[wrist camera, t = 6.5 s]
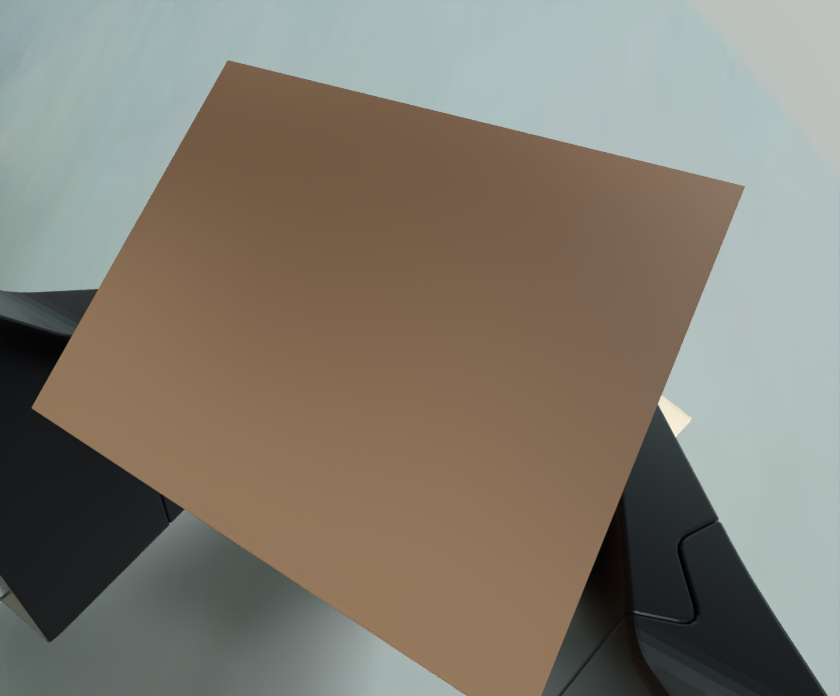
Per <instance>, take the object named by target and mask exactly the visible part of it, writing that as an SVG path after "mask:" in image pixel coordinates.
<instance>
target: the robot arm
mask: <svg viewBox="0 0 840 696" xmlns="http://www.w3.org/2000/svg"><path fill="white" fill-rule="evenodd" d="M97 291H98V289H89V290H70V291H51V292H7V291H1V290H0V601H3V602H4V603H5V604H6V605H7V606H8V607H9V608H10V609H12V610H13V611H14V612H15V613H16V614H17V615H18V616H19V617H21V618H22V619H23V620H24V621H25V622H26V623H27V624H28V625H30V626H31V627H32V628H33V629H34V630H35V631H36V632H37V633H39V634H40V635H41V636H42V637H43V638H44V639H45V640H46V641H48V642H51V641H52V640H53V639H55V638H56V637H57V636H58V635H59V634H60V633H61V632H62V631H64V630H65V629H66V628H67V627H68V626H69V625H70V624H71V623H72V622H73V621H74V620H75V619H76V618H77V617H78V616H79V615H80V614H81V613H82V612H83V611H84V610H85V609H86V608H87V607H88V606H89V605H90V604H91V603H92V602H93V601H94V600H95V599H96V598H97V597H98V596H99V595H100V594H101V593H102V592H103V591H104V590H105V589H106V588H107V587H108V586H109V585H110V584H111V583H112V582H113V581H114V580H115V579H116V578H117V577H118V576H119V575H120V574H121V573H122V572H123V571H124V570H125V569H126V568H127V567H128V566H129V565H130V564H131V563H132V562H133V561H134V560H135V559H136V558H137V557H138V556H139V555H140V554H141V553H142V552H143V551H144V550H145V549H146V548H147V547H148V546H149V545H150V544H151V543H152V542H153V541H154V540H155V539H156V538H157V537H158V536H159V535H160V534H161V533H162V532H163V531H164V530H165V529H166V528H167V527H168V526H169V523H171V522H172V521H173V520H174V519H175V518H176V517H177V516H178V515H179V514H180V513H181V512H182V511H183V510H184V509H183V508H182V507H180V506H179V505H177V504H176V503H174V502H173V501H171V500H170V499H168V498H167V497H165V496H164V495H162V494H161V493H159V492H158V491H156V490H155V489H153V488H152V487H150V486H149V485H147V484H146V483H144V482H143V481H141V480H140V479H138V478H137V477H135V476H133V475H132V474H130V473H129V472H127V471H126V470H124V469H123V468H121V467H120V466H118V465H117V464H115V463H114V462H112V461H111V460H109V459H108V458H106V457H105V456H103V455H102V454H100V453H99V452H97V451H96V450H94V449H93V448H91V447H90V446H88V445H87V444H85V443H84V442H82V441H81V440H79V439H77V438H76V437H74V436H73V435H71V434H70V433H68V432H67V431H65V430H64V429H62V428H61V427H59V426H58V425H56V424H55V423H53V422H52V421H50V420H49V419H47V418H46V417H44V416H43V415H41V414H40V413H38V412H37V411H35V410H34V409H32V406H33V404H34V402H35V401H36V399H37V397H38V395H39V393H40V392H41V390H42V388H43V386H44V385H45V383H46V381H47V379H48V378H49V376H50V374H51V372H52V370H53V369H54V367H55V365H56V363H57V362H58V360H59V358H60V356H61V355H62V353H63V351H64V349H65V348H66V346H67V344H68V342H69V340H70V339H71V337H72V335H73V333H74V332H75V330H76V328H77V326H78V325H79V323H80V321H81V319H82V317H83V316H84V314H85V312H86V310H87V309H88V307H89V305H90V303H91V302H92V300H93V298H94V296H95V294H96V293H97ZM718 520H719V518H718V516H717V514H716V512H715V511H714V509H713V507H712V505H711V503H710V501H709V499H708V497H707V495H706V494H705V492H704V490H703V488H702V486H701V484H700V482H699V480H698V478H697V477H696V475H695V473H694V471H693V469H692V467H691V465H690V463H689V462H688V460H687V458H686V456H685V454H684V452H683V450H682V448H681V446H680V445H679V443H678V441H677V439H676V437H675V435H674V433H673V431H672V429H671V428H670V426H669V424H668V422H667V420H666V418H665V416H664V414H663V412H662V411H661V409H660V407H659V405H657V407H656V410H655V412H654V415H653V417H652V420H651V422H650V425H649V427H648V430H647V432H646V435H645V437H644V440H643V442H642V445H641V447H640V450H639V452H638V455H637V457H636V460H635V462H634V465H633V467H632V470H631V472H630V475H629V477H628V480H627V482H626V485H625V487H624V490H623V492H622V495H621V497H620V500H619V502H618V505H617V507H616V510H615V512H614V515H613V517H612V520H611V522H610V525H609V527H608V530H607V532H606V535H605V537H604V540H603V542H602V545H601V547H600V550H599V552H598V555H597V557H596V560H595V562H594V565H593V567H592V570H591V572H590V575H589V577H588V580H587V582H586V585H585V587H584V590H583V592H582V595H581V597H580V600H579V602H578V605H577V607H576V610H575V612H574V615H573V617H572V620H571V622H570V625H569V627H568V630H567V632H566V635H565V637H564V640H563V642H562V645H561V647H560V650H559V652H558V655H557V657H556V660H555V662H554V665H553V667H552V670H551V672H550V675H549V677H548V680H547V682H546V685H545V687H544V690H543V692H542V695H541V696H828V695H827V694H826V692H825V691H824V689H823V688H822V686H821V685H820V683H819V682H818V680H817V679H816V677H815V676H814V674H813V673H812V671H811V670H810V668H809V666H808V665H807V663H806V662H805V660H804V659H803V657H802V656H801V654H800V653H799V651H798V650H797V648H796V647H795V645H794V644H793V642H792V641H791V639H790V638H789V636H788V634H787V633H786V631H785V630H784V628H783V627H782V625H781V624H780V622H779V621H778V619H777V618H776V616H775V614H774V613H773V611H772V610H771V608H770V606H769V605H768V603H767V602H766V600H765V598H764V597H763V595H762V594H761V592H760V591H759V589H758V587H757V586H756V584H755V583H754V581H753V579H752V578H751V576H750V574H749V572H748V571H747V569H746V567H745V565H744V564H743V562H742V560H741V558H740V556H739V555H738V553H737V551H736V549H735V548H734V546H733V544H732V542H731V540H730V538H729V537H728V535H727V533H726V531H725V529H724V527H723V525H722V524H721V523H720V522H718Z"/></svg>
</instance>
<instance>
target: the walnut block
mask: <svg viewBox="0 0 840 696" xmlns="http://www.w3.org/2000/svg"><path fill="white" fill-rule="evenodd" d="M744 187H745V186H741V185H737V184H733V183H729V182H725V181H721V180H717V179H712V178H708V177H704V176H700V175H696V174H692V173H688V172H684V171H680V170H676V169H671V168H667V167H663V166H659V165H655V164H651V163H647V162H643V161H639V160H635V159H630V158H626V157H622V156H618V155H614V154H610V153H606V152H602V151H598V150H593V149H589V148H585V147H581V146H577V145H573V144H569V143H565V142H561V141H557V140H552V139H548V138H544V137H540V136H536V135H532V134H528V133H524V132H520V131H516V130H511V129H507V128H503V127H499V126H495V125H491V124H487V123H483V122H479V121H475V120H470V119H466V118H462V117H458V116H454V115H450V114H446V113H442V112H438V111H434V110H429V109H425V108H421V107H417V106H413V105H409V104H405V103H401V102H397V101H393V100H388V99H384V98H380V97H376V96H372V95H368V94H364V93H360V92H356V91H351V90H347V89H343V88H339V87H335V86H331V85H327V84H323V83H319V82H315V81H310V80H306V79H302V78H298V77H294V76H290V75H286V74H282V73H278V72H274V71H269V70H265V69H261V68H257V67H253V66H249V65H245V64H241V63H237V62H233V61H227V63H226V65H225V66H224V68H223V70H222V72H221V73H220V75H219V77H218V79H217V81H216V82H215V84H214V86H213V88H212V89H211V91H210V93H209V95H208V96H207V98H206V100H205V102H204V104H203V105H202V107H201V109H200V111H199V112H198V114H197V116H196V118H195V119H194V121H193V123H192V125H191V127H190V128H189V130H188V132H187V134H186V135H185V137H184V139H183V141H182V142H181V144H180V146H179V148H178V149H177V151H176V153H175V155H174V157H173V158H172V160H171V162H170V164H169V165H168V167H167V169H166V171H165V172H164V174H163V176H162V178H161V180H160V181H159V183H158V185H157V187H156V188H155V190H154V192H153V194H152V195H151V197H150V199H149V201H148V203H147V204H146V206H145V208H144V210H143V211H142V213H141V215H140V217H139V218H138V220H137V222H136V224H135V226H134V227H133V229H132V231H131V233H130V234H129V236H128V238H127V240H126V241H125V243H124V245H123V247H122V248H121V250H120V252H119V254H118V256H117V257H116V259H115V261H114V263H113V264H112V266H111V268H110V270H109V271H108V273H107V275H106V277H105V279H104V280H103V282H102V284H101V286H100V287H99V289H98V291H97V293H96V294H95V296H94V298H93V300H92V302H91V303H90V305H89V307H88V309H87V310H86V312H85V314H84V316H83V317H82V319H81V321H80V323H79V325H78V326H77V328H76V330H75V332H74V333H73V335H72V337H71V339H70V340H69V342H68V344H67V346H66V348H65V349H64V351H63V353H62V355H61V356H60V358H59V360H58V362H57V363H56V365H55V367H54V369H53V370H52V372H51V374H50V376H49V378H48V379H47V381H46V383H45V385H44V386H43V388H42V390H41V392H40V393H39V395H38V397H37V399H36V401H35V402H34V404H33V406H32V409H34V410H35V411H37V412H38V413H40V414H41V415H43V416H44V417H46V418H47V419H49V420H50V421H52V422H53V423H55V424H56V425H58V426H59V427H61V428H62V429H64V430H65V431H67V432H68V433H70V434H71V435H73V436H74V437H76V438H77V439H79V440H81V441H82V442H84V443H85V444H87V445H88V446H90V447H91V448H93V449H94V450H96V451H97V452H99V453H100V454H102V455H103V456H105V457H106V458H108V459H109V460H111V461H112V462H114V463H115V464H117V465H118V466H120V467H121V468H123V469H124V470H126V471H127V472H129V473H130V474H132V475H133V476H135V477H137V478H138V479H140V480H141V481H143V482H144V483H146V484H147V485H149V486H150V487H152V488H153V489H155V490H156V491H158V492H159V493H161V494H162V495H164V496H165V497H167V498H168V499H170V500H171V501H173V502H174V503H176V504H177V505H179V506H180V507H182V508H183V509H185V510H186V511H188V512H189V513H191V514H192V515H194V516H196V517H197V518H199V519H200V520H202V521H203V522H205V523H206V524H208V525H209V526H211V527H212V528H214V529H215V530H217V531H218V532H220V533H221V534H223V535H224V536H226V537H227V538H229V539H230V540H232V541H233V542H235V543H236V544H238V545H239V546H241V547H242V548H244V549H245V550H247V551H248V552H250V553H252V554H253V555H255V556H256V557H258V558H259V559H261V560H262V561H264V562H265V563H267V564H268V565H270V566H271V567H273V568H274V569H276V570H277V571H279V572H280V573H282V574H283V575H285V576H286V577H288V578H289V579H291V580H292V581H294V582H295V583H297V584H298V585H300V586H301V587H303V588H304V589H306V590H308V591H309V592H311V593H312V594H314V595H315V596H317V597H318V598H320V599H321V600H323V601H324V602H326V603H327V604H329V605H330V606H332V607H333V608H335V609H336V610H338V611H339V612H341V613H342V614H344V615H345V616H347V617H348V618H350V619H351V620H353V621H354V622H356V623H357V624H359V625H360V626H362V627H363V628H365V629H367V630H368V631H370V632H371V633H373V634H374V635H376V636H377V637H379V638H380V639H382V640H383V641H385V642H386V643H388V644H389V645H391V646H392V647H394V648H395V649H397V650H398V651H400V652H401V653H403V654H404V655H406V656H407V657H409V658H410V659H412V660H413V661H415V662H416V663H418V664H419V665H421V666H423V667H424V668H426V669H427V670H429V671H430V672H432V673H433V674H435V675H436V676H438V677H439V678H441V679H442V680H444V681H445V682H447V683H448V684H450V685H451V686H453V687H454V688H456V689H457V690H459V691H460V692H462V693H463V694H465V695H466V696H541V695H542V692H543V690H544V687H545V685H546V682H547V680H548V677H549V675H550V672H551V670H552V667H553V665H554V662H555V660H556V657H557V655H558V652H559V650H560V647H561V645H562V642H563V640H564V637H565V635H566V632H567V630H568V627H569V625H570V622H571V620H572V617H573V615H574V612H575V610H576V607H577V605H578V602H579V600H580V597H581V595H582V592H583V590H584V587H585V585H586V582H587V580H588V577H589V575H590V572H591V570H592V567H593V565H594V562H595V560H596V557H597V555H598V552H599V550H600V547H601V545H602V542H603V540H604V537H605V535H606V532H607V530H608V527H609V525H610V522H611V520H612V517H613V515H614V512H615V510H616V507H617V505H618V502H619V500H620V497H621V495H622V492H623V490H624V487H625V485H626V482H627V480H628V477H629V475H630V472H631V470H632V467H633V465H634V462H635V460H636V457H637V455H638V452H639V450H640V447H641V445H642V442H643V440H644V437H645V435H646V432H647V430H648V427H649V425H650V422H651V420H652V417H653V415H654V412H655V410H656V407H657V405H658V402H659V400H660V397H661V395H662V392H663V390H664V387H665V385H666V382H667V380H668V377H669V375H670V372H671V370H672V367H673V365H674V362H675V360H676V357H677V355H678V352H679V350H680V347H681V345H682V342H683V340H684V337H685V335H686V332H687V330H688V327H689V325H690V322H691V320H692V317H693V315H694V312H695V310H696V307H697V305H698V302H699V300H700V297H701V295H702V292H703V290H704V287H705V285H706V282H707V280H708V277H709V275H710V272H711V270H712V267H713V265H714V262H715V260H716V257H717V255H718V252H719V250H720V247H721V245H722V242H723V240H724V237H725V235H726V232H727V230H728V227H729V225H730V222H731V220H732V217H733V215H734V212H735V210H736V207H737V205H738V202H739V200H740V197H741V195H742V192H743V190H744Z"/></svg>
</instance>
